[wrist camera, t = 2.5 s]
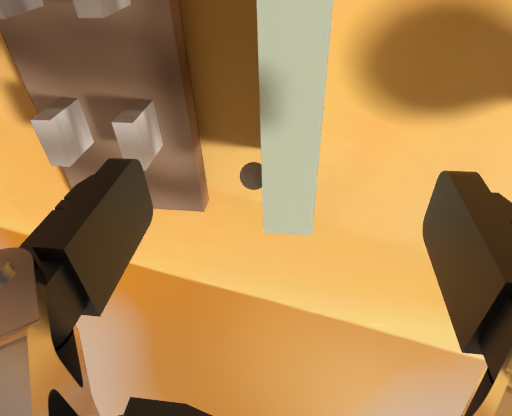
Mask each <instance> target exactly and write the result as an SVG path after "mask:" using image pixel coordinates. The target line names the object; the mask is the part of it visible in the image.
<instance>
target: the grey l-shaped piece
mask: <svg viewBox="0 0 512 416" xmlns="http://www.w3.org/2000/svg"><path fill="white" fill-rule="evenodd" d="M0 31H1V34H2V36H3V38H4V40H5V42H6V45H7V47H8V49H9V51H10V54H11V56H12V58H13V60H14V62H15V65H16V67H17V69H18V71H19V73H20V76H21V78H22V80H23V82H24V84H25V87H26V89H27V91H28V93H29V95H30V98H31V100H32V102H33V104H34V106H35V109H36V111H37V113H38V114H37V115H36V116H34V117H33V118H32V119H30V121H31V124H32V126H33V128H34V130H35V132H36V134H37V136H38V138H39V140H40V143H41V145H42V147H43V149H44V151H45V153H46V155H47V157H48V159H49V162H50V164H51V166H62V168H63V170H64V173H65V175H66V177H67V179H68V181H69V184H70V186H71V188H73V187H74V186H75V185H76V184H78V183H79V182H81V181H83V180H84V179H86V178H87V177H89V176H91V175H94V174H95V173H96V172H97V171H98V170H99V169H100V167H101V166H102V165H103V164H104V163H105V162H106V161H107V160H108V159H109V158H123V159H137V160H139V161H140V163H141V165H142V168H143V171H144V175H145V178H146V182H147V185H148V189H149V193H150V196H151V200H152V204H153V209H168V210H185V211H201V212H204V211H205V208H206V205H207V203H208V200H209V197H208V190H207V184H206V177H205V170H204V164H203V157H202V151H201V144H200V138H199V131H198V124H197V118H196V111H195V105H194V98H193V92H192V85H191V78H190V72H189V65H188V59H187V52H186V46H185V39H184V32H183V26H182V19H181V13H180V6H179V0H0Z"/></svg>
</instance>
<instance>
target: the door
mask: <svg viewBox="0 0 512 416" xmlns="http://www.w3.org/2000/svg"><path fill="white" fill-rule="evenodd" d="M332 9H333V0H257V31H258V65H259V98H260V132H261V164H259V163H256V162H251V163H248V164H246V165H245V166H244V167H243V168H242V170H241V172H240V180H241V182H242V184H243V185H244V186H245V187H246V188H248V189H251V190H256V189H259V188H261V187H262V199H263V232H265V233H279V234H294V235H309V236H312V230H313V219H314V208H315V197H316V186H317V175H318V164H319V153H320V142H321V131H322V120H323V109H324V97H325V86H326V75H327V64H328V53H329V42H330V31H331V20H332Z"/></svg>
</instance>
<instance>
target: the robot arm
mask: <svg viewBox="0 0 512 416" xmlns="http://www.w3.org/2000/svg"><path fill="white" fill-rule="evenodd" d="M152 216H153V204H152V200H151V196H150V193H149V189H148V185H147V182H146V178H145V175H144V171H143V168H142V165H141V163H140V161H139V160H137V159H123V158H109V159H108V160H107V161H106V162H105V163H104V164H103V165H102V166H101V167H100V169H99V170H98V171H97V172H96V173H95V174H94V175H91V176H89V177H87V178H86V179H84V180H83V181H81V182H79V183H78V184H76V185H75V186H74V187H73V188H72V189H71V190H70V192H69V193H68V194H67V195H66V196H65V197H64V200H61V201H60V203H59V204H58V205H57V206H56V207H55V210H52V211H51V212H50V214H49V215H48V216H47V217H46V218H45V219H44V220H43V221H42V222H41V223H40V225H39V226H38V227H37V228H36V229H35V230H34V231H33V232H32V233H31V234H30V236H29V237H28V238H27V239H26V240H25V241H24V242H23V243H22V244H21V246H20V247H19V248H6V249H1V250H0V416H100V415H99V412H98V410H97V408H96V406H95V404H94V401H93V398H92V394H91V390H90V385H89V380H88V375H87V370H86V365H85V360H84V355H83V350H82V345H81V340H80V335H79V330H78V328H77V326H76V325H75V324H76V322H77V321H78V319H79V317H80V316H81V315H90V316H100V315H101V313H102V312H103V310H104V308H105V306H106V304H107V302H108V301H109V298H110V297H111V295H112V293H113V291H114V290H115V288H116V286H117V284H118V282H119V280H120V279H121V277H122V275H123V273H124V271H125V269H126V267H127V265H128V264H129V262H130V260H131V258H132V256H133V255H134V253H135V251H136V249H137V247H138V245H139V244H140V242H141V240H142V238H143V236H144V234H145V233H146V231H147V229H148V227H149V225H150V223H151V220H152ZM423 239H424V242H425V245H426V248H427V251H428V254H429V257H430V260H431V263H432V266H433V269H434V272H435V275H436V278H437V281H438V284H439V286H440V289H441V292H442V295H443V298H444V301H445V304H446V307H447V310H448V313H449V316H450V319H451V322H452V325H453V328H454V330H455V333H456V336H457V339H458V342H459V345H460V348H461V351H462V353H472V354H482V355H484V358H485V361H486V363H487V367H486V369H485V370H484V371H483V373H482V375H481V377H480V379H479V381H478V383H477V385H476V387H475V389H474V391H473V393H472V395H471V397H470V399H469V401H468V403H467V405H466V407H465V409H464V411H463V413H462V415H461V416H512V203H511V202H510V201H509V200H507V199H506V198H505V197H503V196H502V195H500V194H499V193H491V191H490V190H489V188H488V187H487V185H486V184H485V182H484V181H483V179H482V178H481V176H480V175H479V174H478V173H477V172H462V171H443V172H441V173H440V175H439V177H438V179H437V182H436V185H435V188H434V191H433V194H432V197H431V199H430V202H429V205H428V208H427V211H426V214H425V217H424V221H423ZM119 416H212V415H209V414H207V413H205V412H203V411H201V410H198V409H196V408H194V407H192V406H189V405H187V404H183V403H174V402H166V401H158V400H150V399H142V398H133V397H130V399H129V402H128V405H127V407H126V410H125V412H124V415H119Z"/></svg>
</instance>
